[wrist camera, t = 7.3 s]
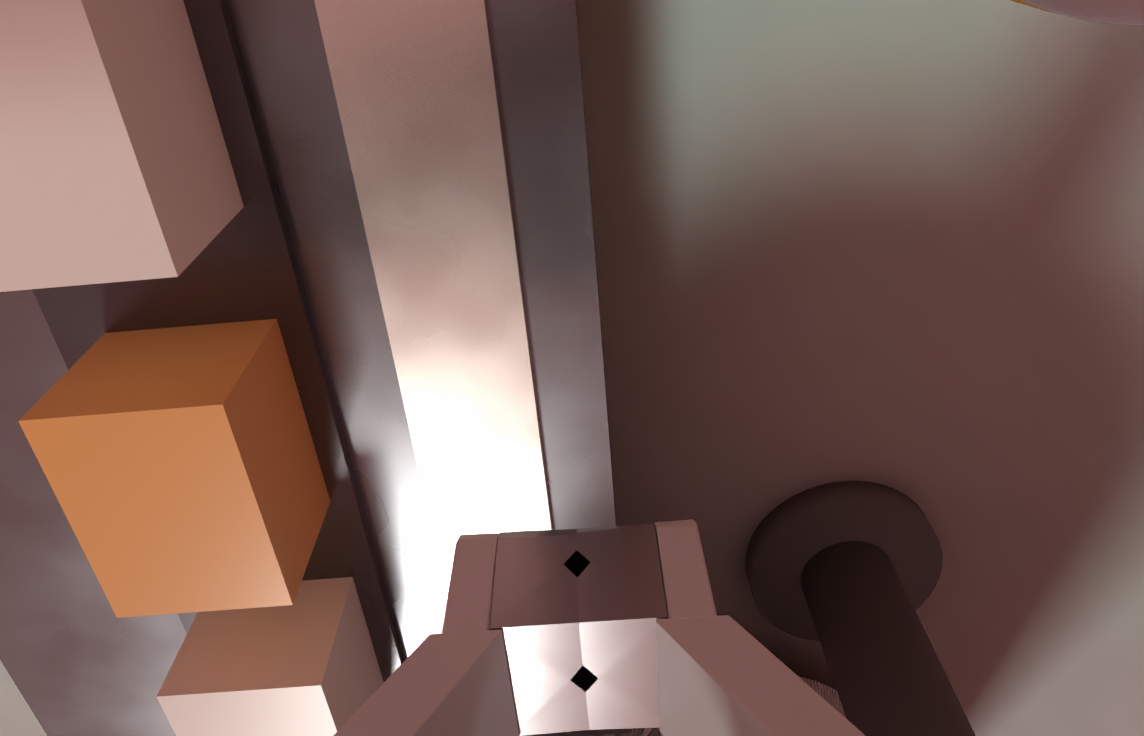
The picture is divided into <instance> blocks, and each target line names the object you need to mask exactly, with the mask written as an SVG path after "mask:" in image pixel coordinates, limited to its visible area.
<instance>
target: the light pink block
mask: <svg viewBox="0 0 1144 736" xmlns="http://www.w3.org/2000/svg"><path fill="white" fill-rule="evenodd" d="M243 207H244V205H243V202H242V199H241V195H240V192H239V188H238V185H237V182H236V178H235V175H234V171H233V168H232V165H231V161H230V158H229V154H228V151H227V148H226V144H225V141H224V137H223V134H222V130H221V127H220V124H219V120H218V117H217V113H216V110H215V107H214V103H213V100H212V96H211V93H210V90H209V86H208V83H207V79H206V76H205V73H204V69H203V66H202V62H201V59H200V56H199V52H198V49H197V45H196V42H195V39H194V35H193V32H192V28H191V25H190V22H189V18H188V15H187V11H186V8H185V5H184V1H183V0H0V292H6V291H18V290H30V289H41V288H53V287H65V286H77V285H88V284H100V283H112V282H124V281H135V280H147V279H159V278H171V277H178V276H179V275H180V274H181V273H182V272H183V271H184V270H185V269H186V268H187V267H188V266H189V265H190V263H191V262H192V261H193V260H194V259H195V258H196V257H197V256H198V255H199V254H200V253H201V252H202V251H203V250H204V249H205V248H206V247H207V245H208V244H209V243H210V242H211V241H212V240H213V239H214V238H215V237H216V236H217V235H218V234H219V233H220V232H221V231H222V230H223V228H224V227H225V226H226V225H227V224H228V223H229V222H230V221H231V220H232V219H233V218H234V217H235V216H236V215H237V214H238V213H239V211H240V210H241V209H242V208H243Z"/></svg>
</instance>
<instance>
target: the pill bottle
mask: <svg viewBox="0 0 1144 736" xmlns="http://www.w3.org/2000/svg"><path fill="white" fill-rule="evenodd" d="M1011 1H1014V2H1018V3H1021V4H1024V5H1028V6H1031V7H1034V8H1038V9H1041V10H1044V11H1049V12H1053V13H1057V14H1061V15H1066V16H1070V17H1074V18H1078V19H1083V20H1088V21H1094V22H1100V23H1106V24H1116V25H1129V26H1144V0H1011Z"/></svg>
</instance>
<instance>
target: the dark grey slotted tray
mask: <svg viewBox="0 0 1144 736" xmlns="http://www.w3.org/2000/svg"><path fill="white" fill-rule="evenodd" d="M183 1H184V5H185V8H186V11H187V15H188V18H189V22H190V25H191V28H192V32H193V35H194V39H195V42H196V45H197V49H198V52H199V56H200V59H201V62H202V66H203V69H204V73H205V76H206V79H207V83H208V86H209V90H210V93H211V96H212V100H213V103H214V107H215V110H216V113H217V117H218V120H219V124H220V127H221V130H222V134H223V137H224V141H225V144H226V148H227V151H228V154H229V158H230V161H231V165H232V168H233V171H234V175H235V178H236V182H237V185H238V188H239V192H240V195H241V199H242V202H243V205H244V207H243V208H242V209H241V210H240V211H239V213H238V214H237V215H236V216H235V217H234V218H233V219H232V220H231V221H230V222H229V223H228V224H227V225H226V226H225V227H224V228H223V230H222V231H221V232H220V233H219V234H218V235H217V236H216V237H215V238H214V239H213V240H212V241H211V242H210V243H209V244H208V245H207V247H206V248H205V249H204V250H203V251H202V252H201V253H200V254H199V255H198V256H197V257H196V258H195V259H194V260H193V261H192V262H191V263H190V265H189V266H188V267H187V268H186V269H185V270H184V271H183V272H182V273H181V274H180V275H179V276H178V277H171V278H159V279H147V280H135V281H124V282H112V283H100V284H88V285H77V286H65V287H53V288H41V289H30V290H18V291H6V292H0V660H1V661H2V663H3V665H4V666H5V668H6V670H7V671H8V673H9V674H10V676H11V678H12V679H13V681H14V682H15V684H16V686H17V687H18V689H19V690H20V692H21V694H22V695H23V697H24V699H25V700H26V702H27V703H28V705H29V707H30V708H31V710H32V711H33V713H34V715H35V716H36V718H37V719H38V721H39V723H40V724H41V726H42V727H43V729H44V731H45V732H46V734H47V736H176V735H175V733H174V731H173V729H172V727H171V725H170V723H169V721H168V719H167V717H166V715H165V713H164V711H163V709H162V707H161V705H160V703H159V701H158V699H157V695H158V693H159V691H160V688H161V686H162V684H163V682H164V680H165V678H166V676H167V674H168V672H169V670H170V668H171V666H172V664H173V662H174V660H175V658H176V656H177V654H178V652H179V650H180V648H181V645H182V643H183V641H184V639H185V637H186V635H187V633H188V631H189V629H190V627H191V625H192V623H193V621H194V619H195V617H196V615H197V613H198V612H190V613H176V614H163V615H149V616H135V617H121V618H117V617H116V615H115V613H114V611H113V609H112V607H111V605H110V603H109V601H108V599H107V597H106V595H105V593H104V591H103V589H102V587H101V585H100V583H99V581H98V579H97V577H96V575H95V573H94V571H93V569H92V567H91V565H90V563H89V561H88V559H87V557H86V555H85V553H84V551H83V549H82V547H81V545H80V543H79V541H78V539H77V537H76V535H75V533H74V531H73V529H72V527H71V525H70V523H69V521H68V519H67V517H66V515H65V513H64V511H63V509H62V507H61V505H60V503H59V501H58V499H57V497H56V495H55V493H54V491H53V489H52V487H51V485H50V483H49V481H48V479H47V477H46V476H45V474H44V472H43V470H42V468H41V466H40V464H39V462H38V460H37V458H36V456H35V454H34V452H33V450H32V448H31V446H30V444H29V442H28V440H27V438H26V436H25V434H24V432H23V430H22V428H21V426H20V424H19V422H18V421H19V419H20V418H21V417H22V416H23V415H24V414H25V413H26V412H27V411H28V410H29V409H30V408H31V407H32V406H33V405H34V404H35V403H36V402H37V401H38V400H39V399H40V398H41V397H42V396H43V395H44V394H45V393H46V392H47V391H48V390H49V389H50V388H51V387H52V386H53V385H54V384H55V383H56V382H57V381H58V380H59V379H60V378H61V377H62V376H63V375H64V374H65V373H66V372H67V371H68V370H69V369H70V368H71V367H72V366H73V365H74V364H75V363H76V362H77V361H78V360H79V359H80V358H81V357H82V356H83V355H84V354H85V353H86V352H87V351H88V350H89V349H90V347H91V346H92V345H93V344H94V343H95V342H96V341H97V340H98V339H99V338H100V337H101V336H102V335H103V334H104V333H111V332H123V331H135V330H147V329H159V328H171V327H183V326H195V325H207V324H219V323H231V322H243V321H255V320H267V319H277V321H278V325H279V328H280V331H281V335H282V338H283V342H284V345H285V348H286V352H287V355H288V359H289V362H290V365H291V369H292V372H293V376H294V379H295V382H296V386H297V389H298V393H299V396H300V399H301V403H302V406H303V410H304V413H305V416H306V420H307V423H308V427H309V430H310V433H311V437H312V440H313V444H314V447H315V451H316V454H317V457H318V461H319V464H320V468H321V471H322V474H323V478H324V481H325V485H326V488H327V491H328V495H329V498H330V504H329V507H328V510H327V512H326V515H325V518H324V521H323V523H322V526H321V529H320V532H319V534H318V537H317V540H316V543H315V545H314V548H313V551H312V554H311V556H310V559H309V562H308V565H307V567H306V570H305V573H304V576H303V578H302V581H304V580H318V579H331V578H345V577H353V580H354V583H355V587H356V590H357V594H358V597H359V600H360V604H361V607H362V611H363V614H364V617H365V621H366V624H367V628H368V631H369V634H370V638H371V641H372V645H373V648H374V651H375V655H376V658H377V662H378V665H379V668H380V672H381V675H382V679H383V682H385V681H386V680H387V679H388V678H389V677H390V676H391V675H392V673H393V672H394V671H395V670H396V669H397V668H398V667H399V666H400V665H401V664H402V663H403V662H404V661H405V660H406V659H407V658H408V657H409V656H410V655H411V653H412V652H413V651H414V650H415V649H416V648H417V647H418V646H419V645H420V644H421V643H422V642H423V641H424V640H425V639H426V638H427V637H428V636H429V635H430V634H439V633H442V628H443V621H444V615H445V608H446V602H447V596H448V589H449V583H450V576H451V570H452V563H453V557H454V550H455V544H456V542H457V540H458V538H459V536H460V535H465V534H489V533H498V534H499V533H500V532H517V531H540V530H563V529H582V528H595V527H609V526H616V521H615V508H614V495H613V482H612V469H611V456H610V443H609V430H608V417H607V404H606V391H605V378H604V365H603V352H602V339H601V326H600V313H599V300H598V286H597V273H596V260H595V247H594V234H593V221H592V208H591V195H590V182H589V169H588V156H587V143H586V130H585V117H584V104H583V91H582V78H581V65H580V52H579V39H578V26H577V13H576V0H183ZM622 733H632V729H631V728H630V729H600V730H590V729H589V730H581V731H570V732H559V733H548V734H536V735H525V736H592V735H607V734H622Z"/></svg>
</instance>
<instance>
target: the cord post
mask: <svg viewBox="0 0 1144 736" xmlns="http://www.w3.org/2000/svg"><path fill="white" fill-rule="evenodd" d="M941 569H942V550H941V546H940V543H939V540H938V538H937V536H936V534H935V533H934V531H933V529H932V527H931V526H930V524H929V522H928V520H927V519H926V517H925V515H924V513H923V512H922V511H921V509H920V508H919V507H918V505H917V504H915V503H914V502H913V501H912V500H911V499H910V498H908V497H907V496H906V495H904V494H903V493H901V492H899V491H897V490H894V489H892V488H889V487H886V486H883V485H880V484H874V483H869V482H840V483H832V484H827V485H823V486H819V487H816V488H813V489H810V490H807V491H805V492H802V493H800V494H798V495H796V496H794V497H792V498H791V499H789V500H787V501H785V502H784V503H782V504H781V505H780V506H778V507H777V508H776V509H774V510H773V511H772V512H771V513H770V514H769V515H768V516H767V517H766V518H765V519H764V520H763V521H762V523H761V524H760V525H759V526H758V528H757V529H756V531H755V532H754V534H753V536H752V538H751V541H750V543H749V546H748V550H747V555H746V570H747V574H748V578H749V582H750V586H751V590H752V593H753V597H754V600H755V602H756V605H757V607H758V608H759V610H760V611H761V613H762V614H763V615H764V617H765V618H766V619H767V620H768V621H769V622H771V623H772V624H773V625H775V626H776V627H777V628H779V629H781V630H783V631H785V632H787V633H789V634H792V635H794V636H797V637H801V638H804V639H810V640H816V641H820V643H821V645H822V648H823V651H824V654H825V657H826V660H827V663H828V666H829V669H830V672H831V675H832V678H833V681H834V684H835V687H836V690H837V692H838V695H839V698H840V701H841V704H842V707H843V710H844V713H845V716H846V719H847V720H848V721H850V722H851V723H852V724H853V725H854V726H855V727H856V728H857V729H859V730H860V731H861V732H862V733H863V734H864V735H865V736H975V734H974V732H973V730H972V728H971V725H970V723H969V721H968V719H967V717H966V715H965V713H964V711H963V709H962V707H961V705H960V703H959V701H958V699H957V697H956V694H955V692H954V690H953V688H952V686H951V684H950V682H949V680H948V678H947V676H946V674H945V672H944V670H943V668H942V665H941V663H940V661H939V659H938V657H937V655H936V653H935V651H934V649H933V647H932V645H931V643H930V641H929V639H928V637H927V634H926V632H925V630H924V628H923V626H922V624H921V622H920V620H919V618H918V616H917V614H916V612H915V610H916V609H918V608H919V607H920V606H921V605H922V604H923V603H924V601H925V600H926V599H927V598H928V597H929V595H930V594H931V592H932V591H933V589H934V587H935V586H936V583H937V581H938V579H939V576H940V572H941Z"/></svg>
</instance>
